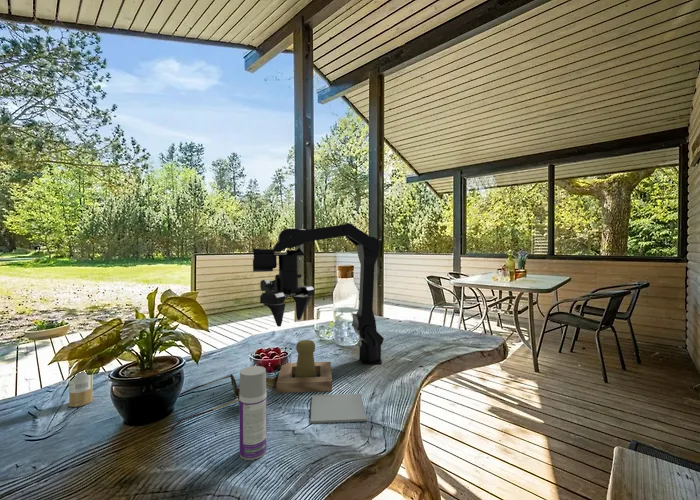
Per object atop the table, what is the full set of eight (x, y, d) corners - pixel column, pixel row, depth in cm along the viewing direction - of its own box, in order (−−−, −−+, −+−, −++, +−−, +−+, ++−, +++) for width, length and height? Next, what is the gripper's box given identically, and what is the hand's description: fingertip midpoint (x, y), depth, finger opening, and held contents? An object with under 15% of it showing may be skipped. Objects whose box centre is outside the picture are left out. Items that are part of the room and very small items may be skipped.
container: (243, 445, 63) (242, 366, 63) (268, 444, 63) (268, 365, 63) (236, 461, 58) (236, 376, 58) (264, 460, 59) (264, 375, 58)
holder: (330, 370, 100) (330, 361, 100) (332, 391, 86) (332, 381, 86) (282, 371, 99) (282, 363, 99) (276, 392, 85) (276, 383, 85)
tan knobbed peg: (318, 376, 95) (318, 338, 95) (314, 385, 89) (314, 344, 89) (297, 375, 96) (297, 337, 96) (291, 384, 90) (292, 343, 90)
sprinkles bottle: (95, 397, 82) (94, 342, 82) (90, 405, 78) (89, 347, 78) (71, 400, 80) (70, 344, 80) (65, 409, 76) (64, 350, 76)
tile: (360, 395, 84) (360, 393, 84) (367, 421, 72) (367, 418, 72) (312, 397, 83) (312, 395, 83) (310, 423, 71) (310, 421, 71)
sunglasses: (245, 417, 74) (243, 395, 74) (169, 441, 67) (166, 417, 66) (233, 391, 87) (231, 372, 86) (168, 409, 79) (165, 389, 79)
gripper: (287, 267, 113) (288, 314, 113) (245, 272, 96) (246, 326, 97) (315, 268, 107) (315, 317, 108) (275, 274, 91) (276, 331, 91)
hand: (289, 322), depth 101 cm, fingers open, 9 cm apart
